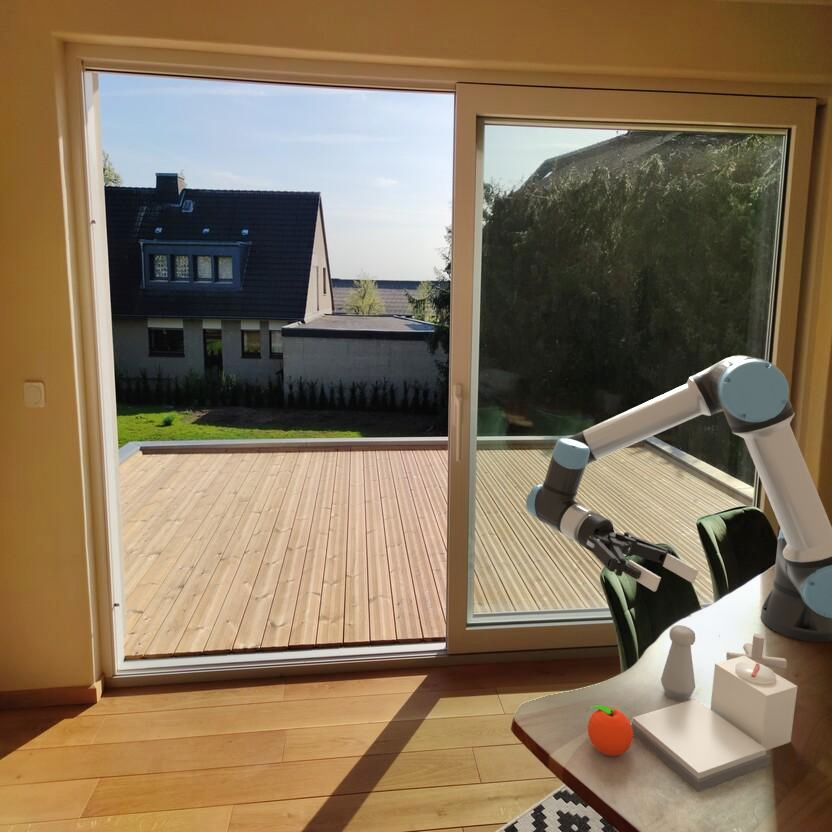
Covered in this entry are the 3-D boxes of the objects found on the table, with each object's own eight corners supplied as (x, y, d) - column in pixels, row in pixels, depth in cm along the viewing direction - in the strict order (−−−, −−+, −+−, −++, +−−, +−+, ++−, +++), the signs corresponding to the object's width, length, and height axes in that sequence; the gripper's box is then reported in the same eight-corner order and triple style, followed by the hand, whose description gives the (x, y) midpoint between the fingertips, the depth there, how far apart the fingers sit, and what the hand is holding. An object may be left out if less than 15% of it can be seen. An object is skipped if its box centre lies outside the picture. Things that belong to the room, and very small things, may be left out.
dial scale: (727, 699, 117) (733, 643, 115) (804, 751, 103) (812, 689, 101) (627, 729, 108) (631, 670, 106) (697, 791, 94) (704, 724, 92)
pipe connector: (791, 704, 115) (798, 653, 114) (732, 696, 117) (737, 646, 116) (773, 674, 125) (778, 626, 123) (718, 667, 127) (723, 620, 125)
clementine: (572, 745, 104) (574, 705, 102) (596, 727, 108) (598, 689, 107) (616, 772, 98) (619, 730, 96) (639, 752, 102) (643, 712, 101)
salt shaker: (689, 708, 114) (695, 640, 112) (656, 696, 117) (661, 630, 115) (697, 693, 118) (703, 627, 116) (665, 682, 122) (671, 618, 120)
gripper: (616, 540, 144) (703, 590, 128) (544, 549, 128) (633, 607, 112) (627, 509, 142) (716, 556, 126) (555, 515, 126) (646, 569, 111)
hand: (677, 580), depth 119 cm, fingers open, 13 cm apart
